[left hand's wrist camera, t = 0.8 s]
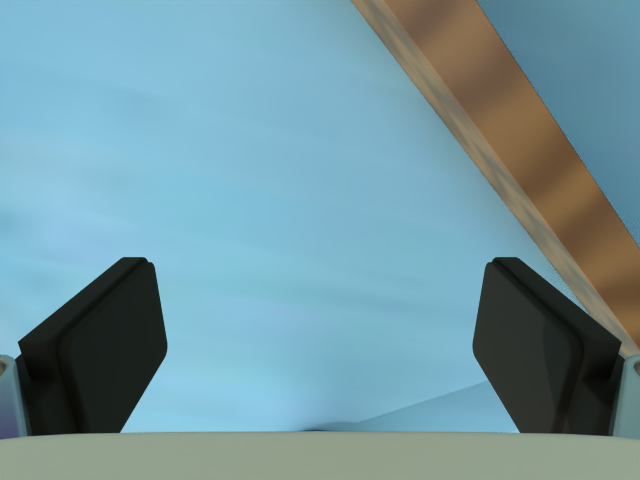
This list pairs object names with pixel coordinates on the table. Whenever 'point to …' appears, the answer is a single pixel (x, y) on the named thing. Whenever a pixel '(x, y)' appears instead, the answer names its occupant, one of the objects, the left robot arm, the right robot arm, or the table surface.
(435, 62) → the bar
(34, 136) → the table surface
